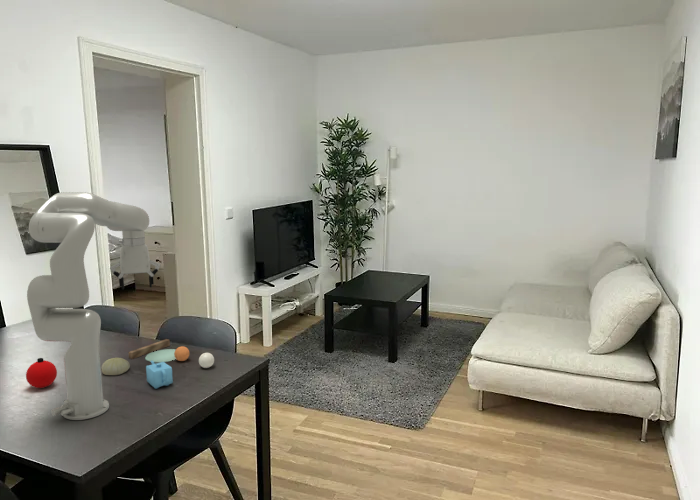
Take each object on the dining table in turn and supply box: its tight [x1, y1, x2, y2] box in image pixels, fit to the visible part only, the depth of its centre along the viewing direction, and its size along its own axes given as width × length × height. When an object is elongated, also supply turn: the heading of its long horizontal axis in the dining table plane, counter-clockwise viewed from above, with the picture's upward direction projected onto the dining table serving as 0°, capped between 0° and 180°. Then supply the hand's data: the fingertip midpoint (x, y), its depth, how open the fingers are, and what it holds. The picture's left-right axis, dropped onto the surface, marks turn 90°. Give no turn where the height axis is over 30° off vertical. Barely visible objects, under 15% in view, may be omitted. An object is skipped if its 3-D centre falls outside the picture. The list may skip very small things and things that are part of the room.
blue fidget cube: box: [145, 361, 174, 390], centre depth 180 cm, size 12×6×8 cm, turn 41°
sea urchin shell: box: [100, 357, 131, 376], centre depth 190 cm, size 9×8×8 cm
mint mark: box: [144, 348, 177, 363], centre depth 207 cm, size 14×14×1 cm
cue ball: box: [198, 352, 215, 369], centre depth 194 cm, size 6×6×6 cm
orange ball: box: [174, 345, 190, 362], centre depth 201 cm, size 6×6×6 cm
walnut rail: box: [127, 338, 171, 360], centre depth 211 cm, size 18×2×2 cm, turn 149°
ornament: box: [25, 357, 58, 389], centre depth 177 cm, size 9×9×10 cm
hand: (136, 287), depth 197 cm, fingers open, 9 cm apart
